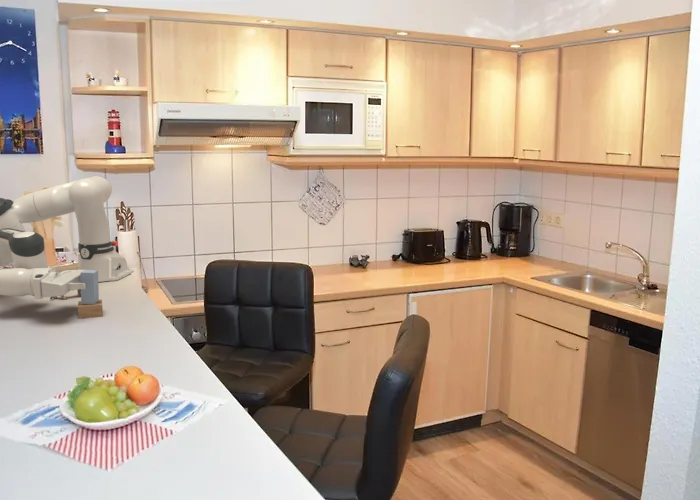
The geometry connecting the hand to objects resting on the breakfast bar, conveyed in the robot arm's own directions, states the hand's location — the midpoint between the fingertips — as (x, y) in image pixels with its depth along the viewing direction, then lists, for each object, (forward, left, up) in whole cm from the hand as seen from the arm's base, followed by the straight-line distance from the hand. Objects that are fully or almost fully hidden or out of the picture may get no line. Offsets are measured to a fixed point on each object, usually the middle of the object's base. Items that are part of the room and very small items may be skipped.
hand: (91, 281), depth 205 cm
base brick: (0, -1, -11) cm, 11 cm away
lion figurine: (-15, -21, -11) cm, 28 cm away
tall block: (0, -1, -7) cm, 7 cm away
